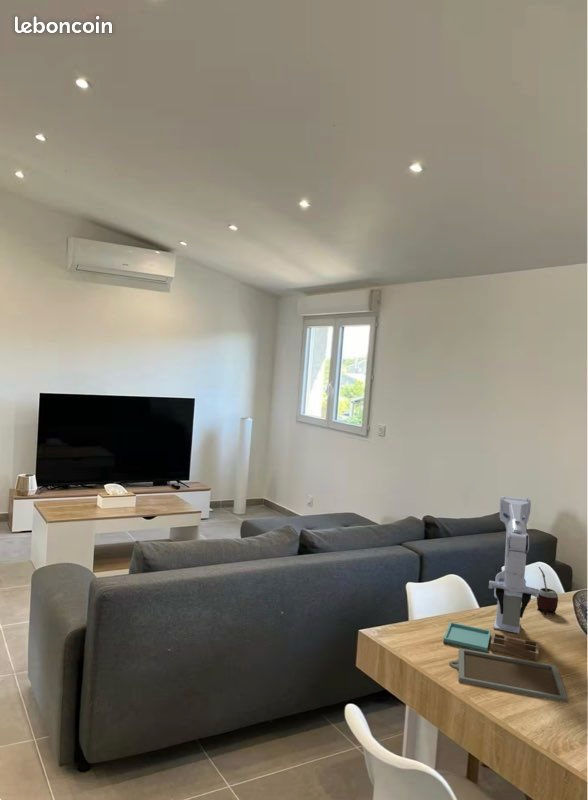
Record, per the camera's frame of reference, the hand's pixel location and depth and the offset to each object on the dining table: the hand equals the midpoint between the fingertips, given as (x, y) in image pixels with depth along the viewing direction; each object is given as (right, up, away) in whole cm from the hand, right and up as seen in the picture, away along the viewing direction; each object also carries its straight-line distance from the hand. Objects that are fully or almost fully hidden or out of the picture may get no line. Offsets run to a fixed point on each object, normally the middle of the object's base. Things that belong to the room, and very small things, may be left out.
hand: (511, 614), depth 185 cm
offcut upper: (0, -9, -3) cm, 9 cm away
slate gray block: (0, -3, 0) cm, 3 cm away
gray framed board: (-9, -11, -18) cm, 23 cm away
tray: (-13, -9, +4) cm, 16 cm away
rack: (0, -10, -3) cm, 10 cm away
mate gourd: (+24, -11, +32) cm, 41 cm away
